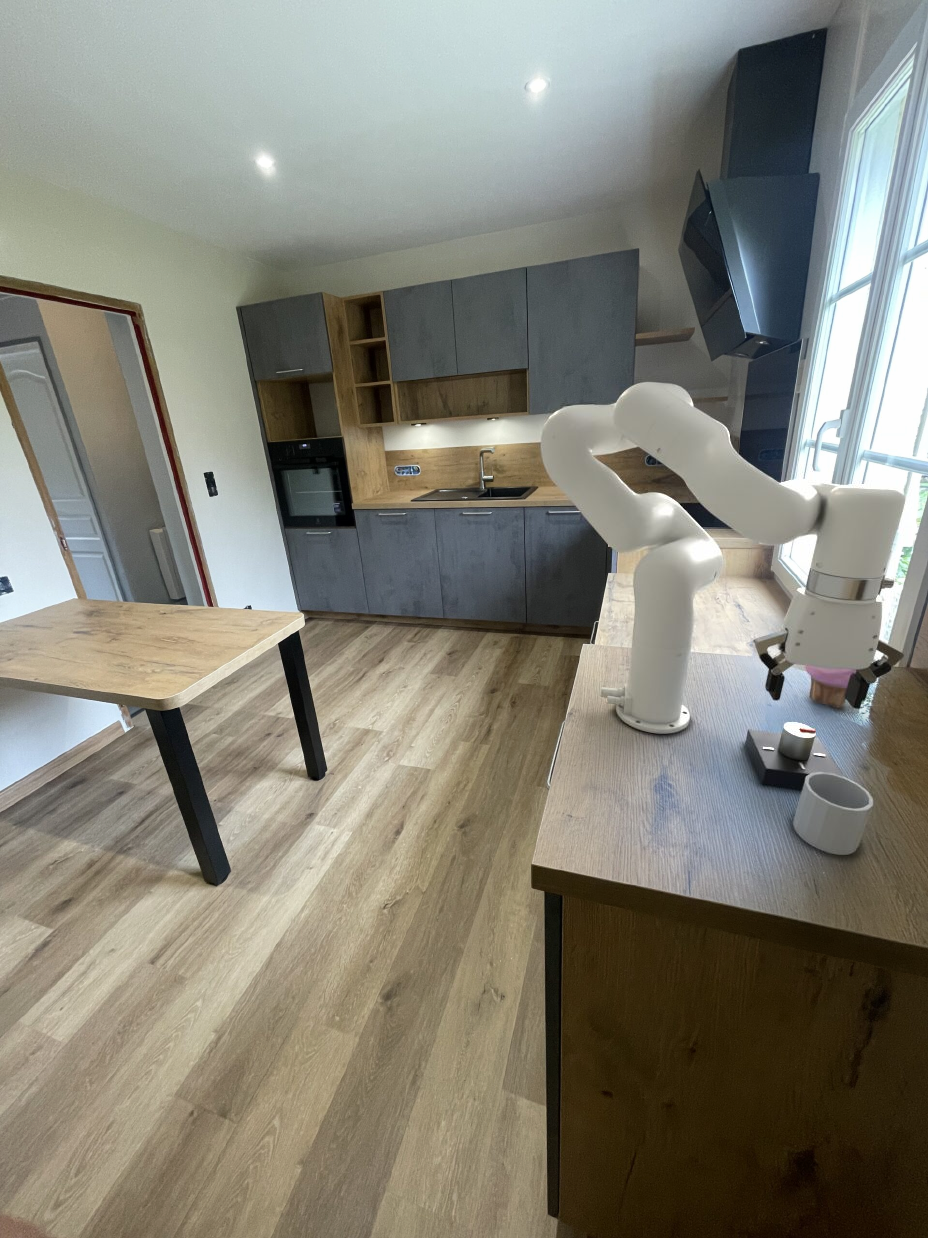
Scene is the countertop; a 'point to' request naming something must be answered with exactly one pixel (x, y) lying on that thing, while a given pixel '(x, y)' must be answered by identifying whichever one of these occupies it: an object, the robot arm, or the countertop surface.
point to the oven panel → (786, 761)
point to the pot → (832, 813)
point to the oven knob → (796, 741)
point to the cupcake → (829, 684)
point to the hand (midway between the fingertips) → (811, 699)
